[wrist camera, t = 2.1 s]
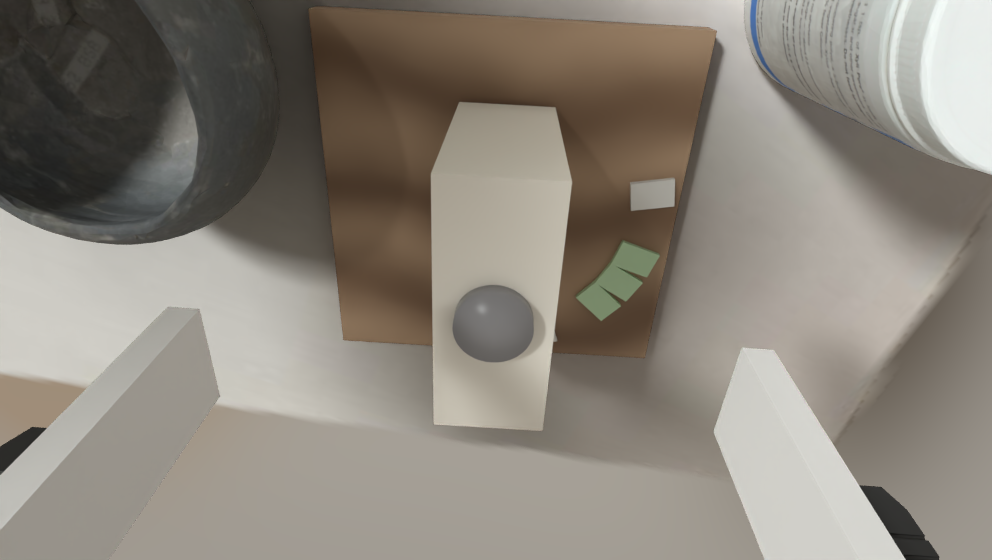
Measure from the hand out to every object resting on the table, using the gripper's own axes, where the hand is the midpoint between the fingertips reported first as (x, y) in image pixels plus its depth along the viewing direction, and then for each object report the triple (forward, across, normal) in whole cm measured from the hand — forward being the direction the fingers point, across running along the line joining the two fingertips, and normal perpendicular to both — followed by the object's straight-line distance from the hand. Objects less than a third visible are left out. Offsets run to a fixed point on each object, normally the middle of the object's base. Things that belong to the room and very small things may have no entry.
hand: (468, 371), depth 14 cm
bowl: (+21, -18, +3) cm, 28 cm away
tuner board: (+21, 0, -4) cm, 21 cm away
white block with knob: (+19, +1, -6) cm, 20 cm away
